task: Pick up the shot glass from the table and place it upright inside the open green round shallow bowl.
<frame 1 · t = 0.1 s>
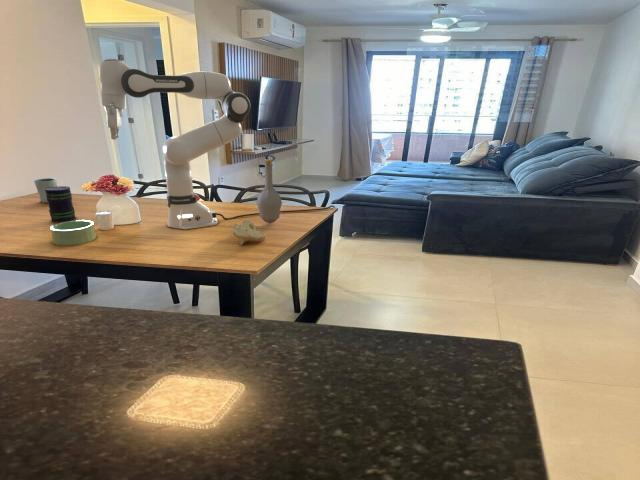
hand: (115, 138, 156), 39 cm above the table, tool pointing down, fingers open, 8 cm apart
shot glass: (106, 228, 169), on the table
green round shallow bowl: (75, 239, 153), on the table
bottle: (269, 224, 181), on the table
storage jar: (63, 220, 180), on the table
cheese: (247, 244, 153), on the table
drinking glass: (49, 201, 214), on the table
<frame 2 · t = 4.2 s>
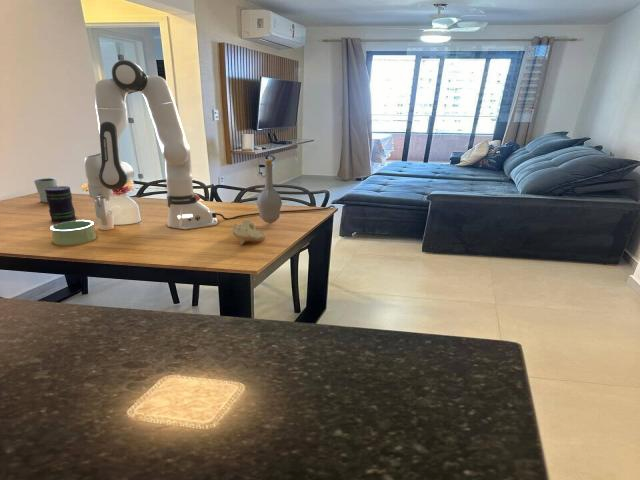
hand: (105, 222, 168), 2 cm above the table, tool pointing down, fingers closed on shot glass, 5 cm apart
shot glass: (106, 228, 169), on the table, touching gripper
everything else where it was.
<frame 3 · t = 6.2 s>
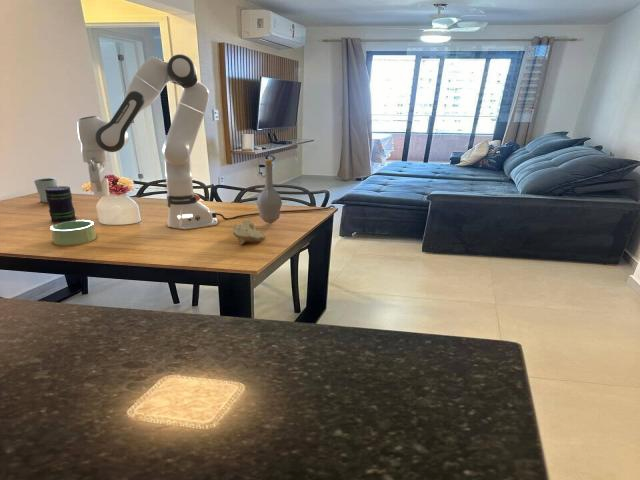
hand: (101, 189, 163), 17 cm above the table, tool pointing down, fingers closed on shot glass, 5 cm apart
shot glass: (102, 195, 164), point 15 cm above the table, touching gripper
everything else where it was.
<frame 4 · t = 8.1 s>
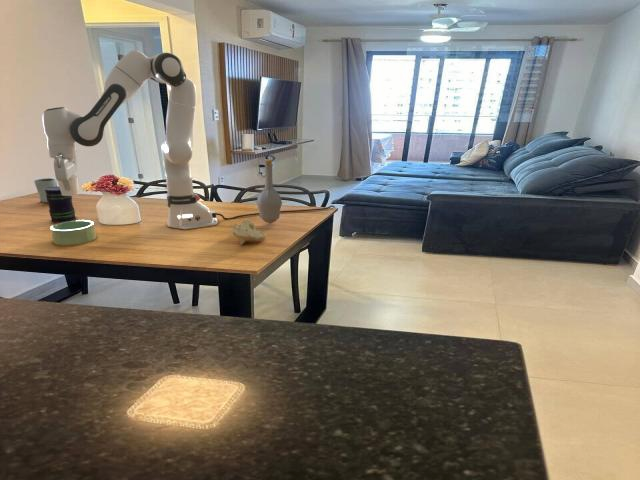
hand: (69, 188, 149), 20 cm above the table, tool pointing down, fingers closed on shot glass, 5 cm apart
shot glass: (70, 194, 149), point 18 cm above the table, touching gripper
everything else where it was.
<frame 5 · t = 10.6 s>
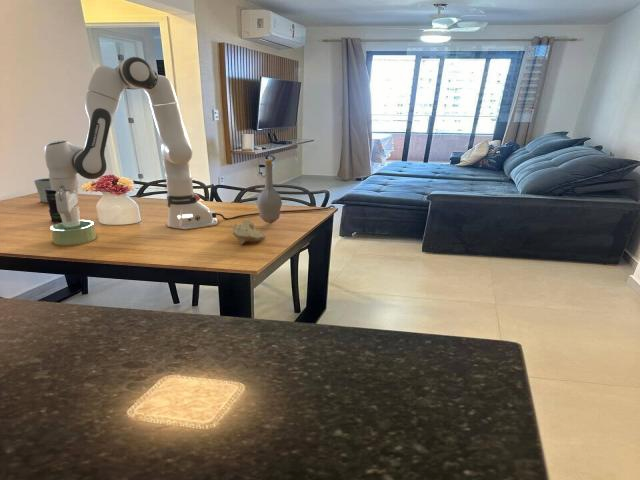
hand: (71, 219, 151), 9 cm above the table, tool pointing down, fingers closed on shot glass, 5 cm apart
shot glass: (72, 225, 151), point 6 cm above the table, touching gripper
everything else where it was.
when the fingers open (3 cm above the table, at t = 12.4 s): shot glass stays where it is, resting on green round shallow bowl.
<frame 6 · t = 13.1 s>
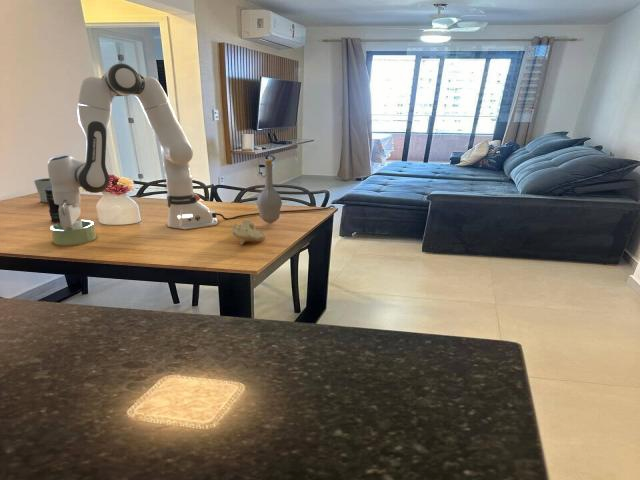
hand: (73, 232, 152), 3 cm above the table, tool pointing down, fingers open, 8 cm apart
shot glass: (74, 238, 153), resting on green round shallow bowl
everything else where it was.
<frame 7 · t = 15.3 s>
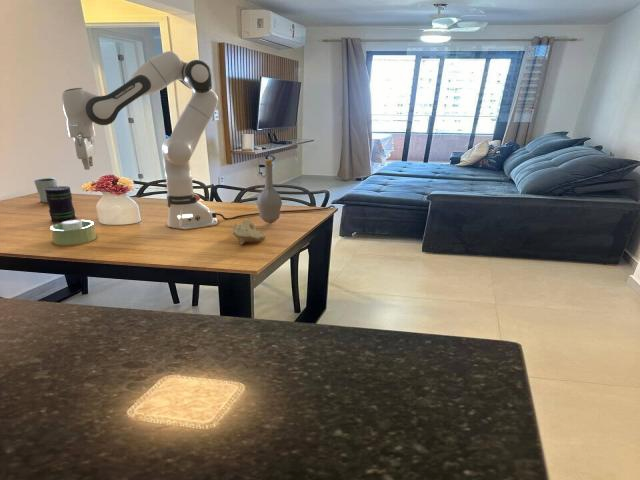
hand: (89, 167, 154), 27 cm above the table, tool pointing down, fingers open, 8 cm apart
nothing on the table moved.
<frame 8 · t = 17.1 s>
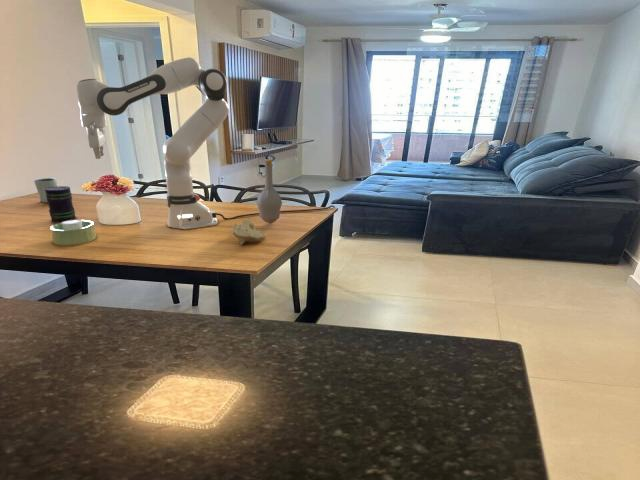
hand: (99, 157, 158), 31 cm above the table, tool pointing down, fingers open, 8 cm apart
nothing on the table moved.
at the end: shot glass 0.1 cm off-centre in the green round shallow bowl, point 0.3 cm above the green round shallow bowl's base; shot glass tilted 0°; the gripper is holding nothing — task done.
